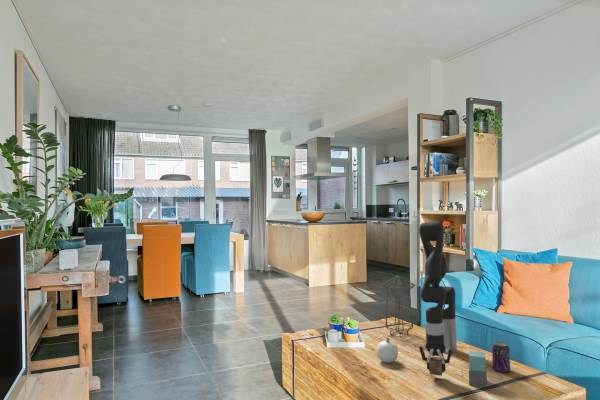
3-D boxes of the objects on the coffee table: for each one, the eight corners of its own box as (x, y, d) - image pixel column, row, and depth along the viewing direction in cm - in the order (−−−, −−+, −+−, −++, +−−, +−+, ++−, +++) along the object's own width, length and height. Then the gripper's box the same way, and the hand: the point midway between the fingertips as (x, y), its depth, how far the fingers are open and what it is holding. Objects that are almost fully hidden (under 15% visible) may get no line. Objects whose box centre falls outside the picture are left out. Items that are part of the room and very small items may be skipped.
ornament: (398, 366, 198) (397, 340, 198) (376, 365, 200) (376, 340, 200) (398, 358, 208) (397, 334, 208) (377, 357, 210) (376, 333, 210)
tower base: (469, 385, 175) (468, 370, 175) (469, 378, 181) (468, 364, 182) (487, 387, 172) (486, 372, 172) (487, 380, 179) (486, 366, 179)
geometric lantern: (396, 329, 259) (395, 273, 260) (418, 334, 246) (416, 275, 247) (380, 334, 248) (378, 276, 250) (402, 340, 236) (400, 278, 237)
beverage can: (500, 374, 185) (499, 347, 185) (489, 368, 192) (488, 342, 192) (513, 372, 187) (512, 345, 187) (502, 366, 194) (501, 340, 194)
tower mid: (469, 370, 176) (469, 355, 176) (470, 365, 181) (469, 351, 181) (485, 371, 173) (484, 357, 173) (485, 366, 179) (484, 352, 179)
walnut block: (429, 374, 181) (429, 360, 181) (431, 370, 186) (430, 356, 186) (442, 375, 179) (441, 361, 179) (442, 371, 184) (442, 357, 184)
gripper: (416, 333, 182) (418, 372, 182) (451, 336, 176) (453, 376, 176) (419, 328, 189) (420, 366, 189) (452, 331, 183) (454, 369, 183)
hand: (436, 370), depth 182 cm, fingers closed on walnut block, 5 cm apart
